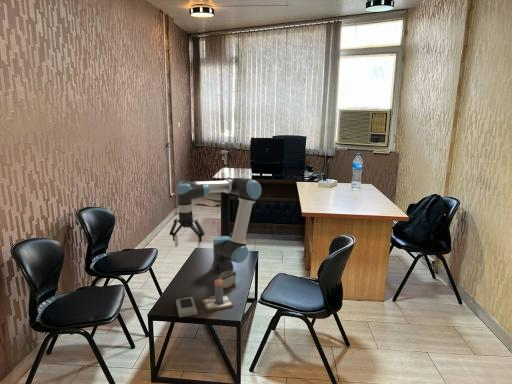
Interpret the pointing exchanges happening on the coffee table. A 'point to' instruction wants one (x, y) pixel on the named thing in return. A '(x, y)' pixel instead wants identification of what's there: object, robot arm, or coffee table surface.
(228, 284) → the food container
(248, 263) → the coffee table surface
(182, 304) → the grey framed panel
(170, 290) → the coffee table surface
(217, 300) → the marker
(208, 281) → the coffee table surface
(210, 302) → the clipboard
